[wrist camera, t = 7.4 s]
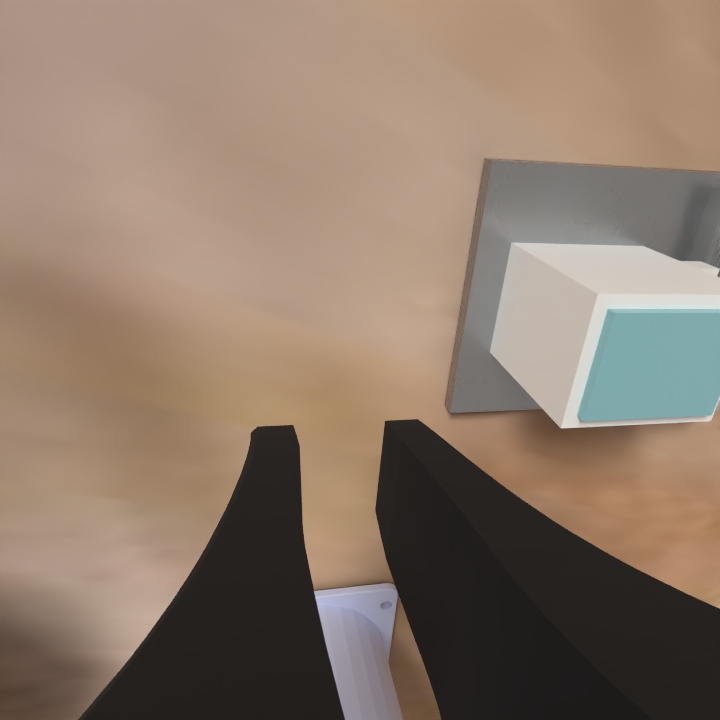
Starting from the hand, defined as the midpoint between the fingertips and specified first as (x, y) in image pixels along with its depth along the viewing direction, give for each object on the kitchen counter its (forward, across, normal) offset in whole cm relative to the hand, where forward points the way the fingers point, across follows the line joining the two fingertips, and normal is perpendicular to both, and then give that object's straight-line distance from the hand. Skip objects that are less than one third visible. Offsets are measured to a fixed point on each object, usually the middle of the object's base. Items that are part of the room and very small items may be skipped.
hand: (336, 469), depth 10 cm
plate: (+9, -12, 0) cm, 15 cm away
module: (+9, -10, 0) cm, 13 cm away
